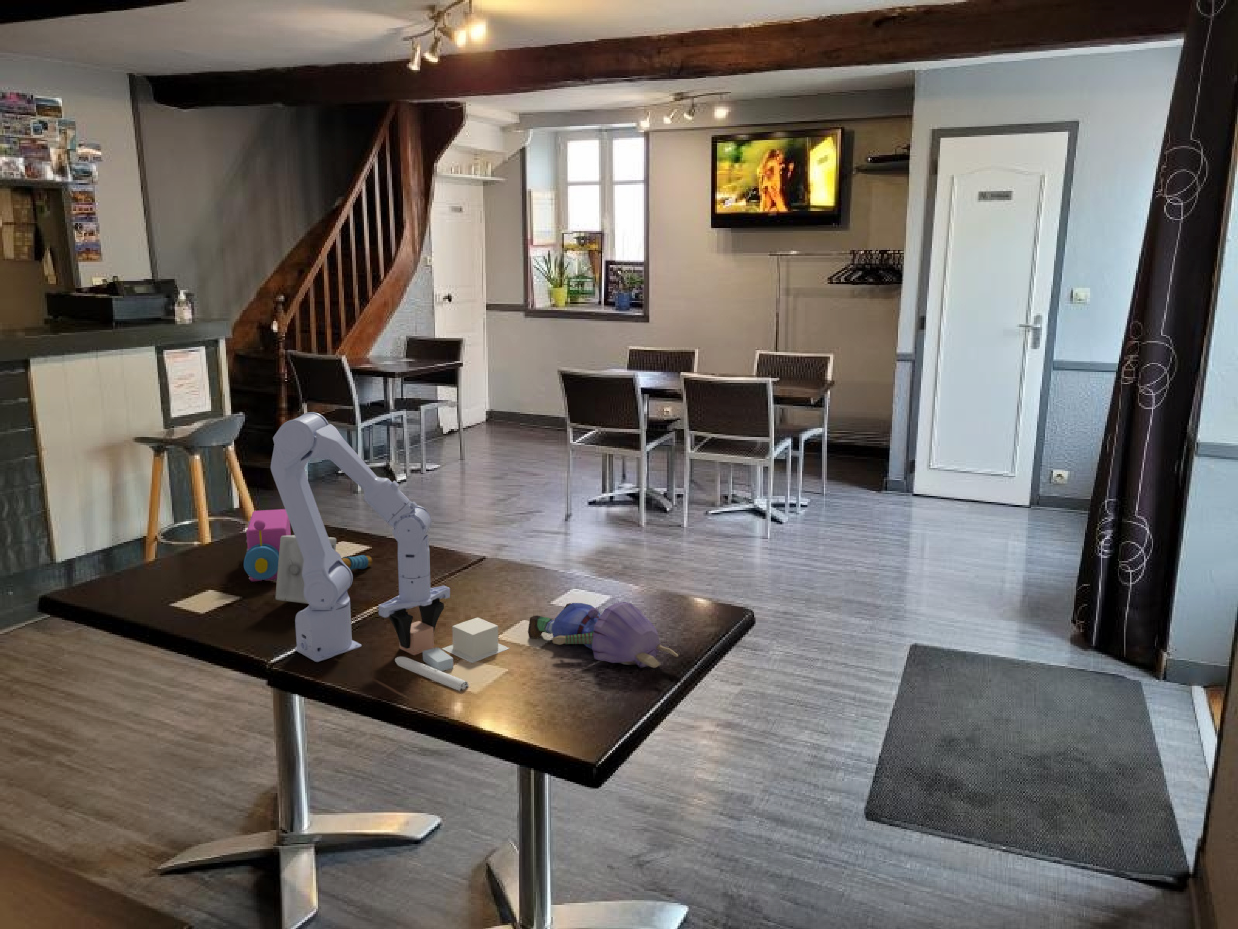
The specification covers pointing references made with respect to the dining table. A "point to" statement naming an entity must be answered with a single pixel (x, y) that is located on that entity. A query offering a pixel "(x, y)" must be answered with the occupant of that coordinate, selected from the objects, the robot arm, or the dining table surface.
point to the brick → (438, 659)
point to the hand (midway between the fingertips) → (416, 642)
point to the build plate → (472, 660)
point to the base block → (475, 637)
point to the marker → (431, 673)
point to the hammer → (292, 566)
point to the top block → (420, 638)
